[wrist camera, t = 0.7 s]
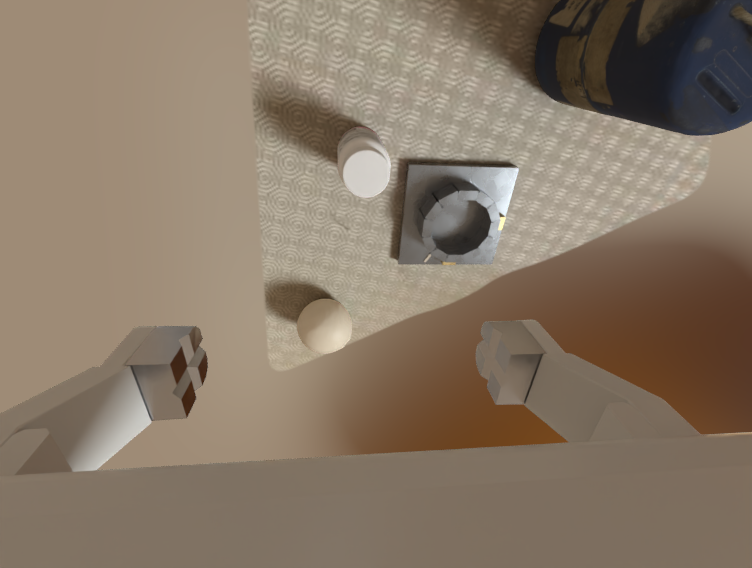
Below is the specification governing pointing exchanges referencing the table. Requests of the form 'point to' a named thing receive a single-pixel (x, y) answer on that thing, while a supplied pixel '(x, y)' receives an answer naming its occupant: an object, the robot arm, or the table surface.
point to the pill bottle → (363, 162)
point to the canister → (652, 61)
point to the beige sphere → (324, 326)
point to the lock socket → (454, 212)
